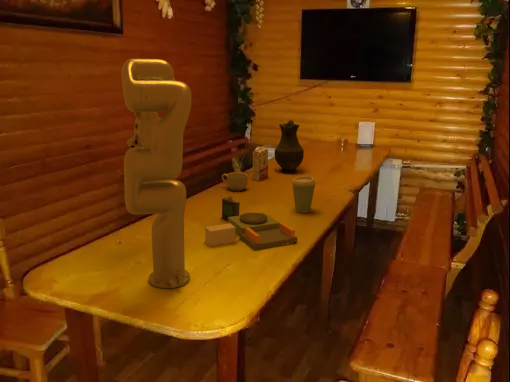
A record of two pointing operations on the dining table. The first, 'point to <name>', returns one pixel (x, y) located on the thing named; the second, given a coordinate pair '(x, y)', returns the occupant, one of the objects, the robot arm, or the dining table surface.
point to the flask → (229, 207)
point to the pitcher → (289, 148)
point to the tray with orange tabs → (262, 230)
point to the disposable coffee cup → (303, 193)
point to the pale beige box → (220, 234)
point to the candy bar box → (260, 164)
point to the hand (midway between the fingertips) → (149, 160)
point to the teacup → (236, 180)
